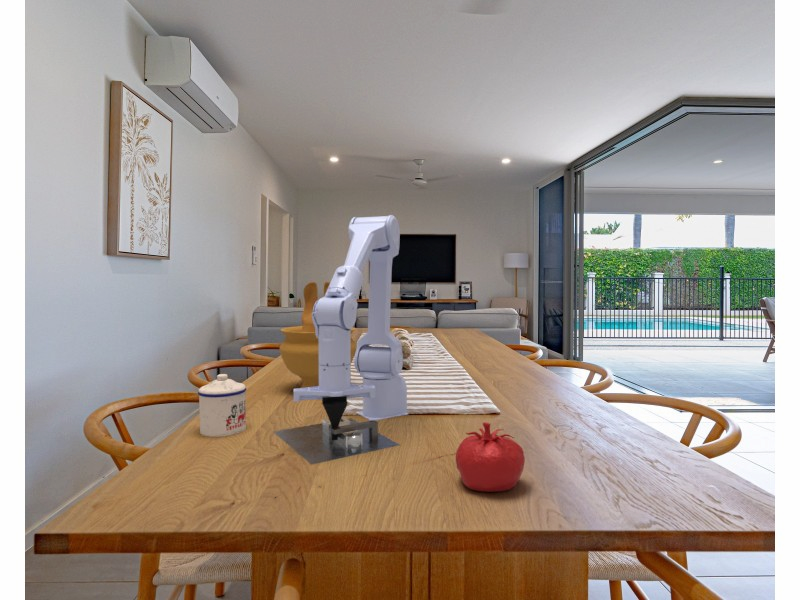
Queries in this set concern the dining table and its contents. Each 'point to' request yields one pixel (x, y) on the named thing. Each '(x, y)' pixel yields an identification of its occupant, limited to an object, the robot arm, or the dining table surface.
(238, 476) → the dining table surface
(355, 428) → the bracket
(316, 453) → the base plate
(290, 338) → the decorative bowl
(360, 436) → the link
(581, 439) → the dining table surface
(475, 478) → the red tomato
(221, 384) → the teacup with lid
